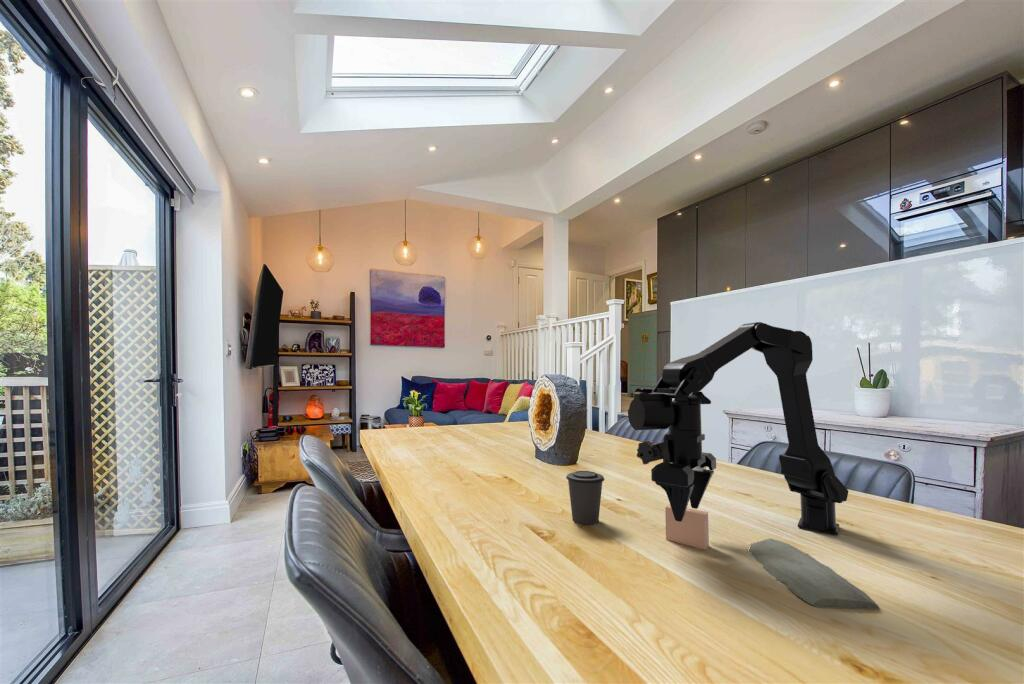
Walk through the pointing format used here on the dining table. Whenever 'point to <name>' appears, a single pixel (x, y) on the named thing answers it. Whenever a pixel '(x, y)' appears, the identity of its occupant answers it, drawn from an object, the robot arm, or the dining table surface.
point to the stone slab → (809, 577)
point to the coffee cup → (585, 496)
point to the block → (688, 528)
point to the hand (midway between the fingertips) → (686, 514)
